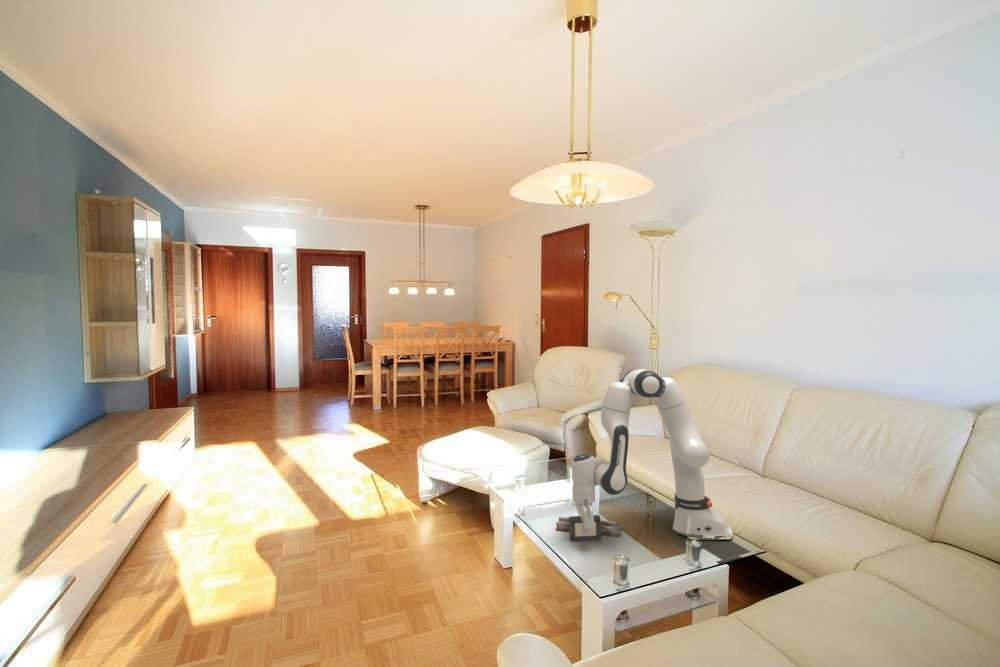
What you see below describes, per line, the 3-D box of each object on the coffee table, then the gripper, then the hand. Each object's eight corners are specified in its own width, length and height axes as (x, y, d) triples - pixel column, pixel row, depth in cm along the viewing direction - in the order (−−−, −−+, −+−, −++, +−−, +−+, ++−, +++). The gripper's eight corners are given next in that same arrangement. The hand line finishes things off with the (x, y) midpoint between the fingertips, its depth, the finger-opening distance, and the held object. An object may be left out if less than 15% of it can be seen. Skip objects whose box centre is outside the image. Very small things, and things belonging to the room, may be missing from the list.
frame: (599, 537, 194) (598, 515, 194) (601, 539, 192) (600, 517, 191) (570, 538, 194) (569, 516, 193) (571, 541, 191) (570, 519, 191)
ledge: (621, 528, 201) (621, 521, 201) (620, 537, 193) (619, 529, 193) (560, 522, 209) (559, 515, 209) (556, 530, 202) (555, 523, 202)
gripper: (597, 505, 182) (598, 541, 182) (586, 486, 202) (587, 519, 203) (580, 506, 182) (582, 542, 182) (571, 487, 202) (572, 520, 203)
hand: (585, 530), depth 193 cm, fingers closed on frame, 2 cm apart
